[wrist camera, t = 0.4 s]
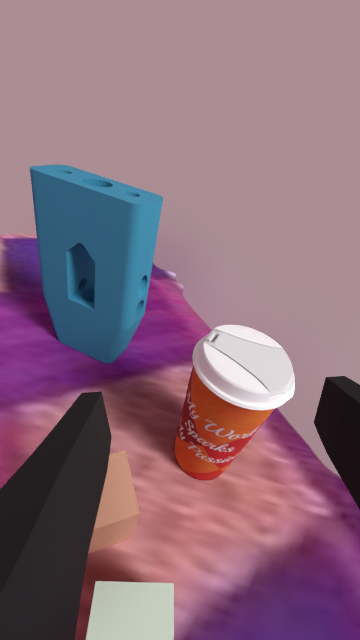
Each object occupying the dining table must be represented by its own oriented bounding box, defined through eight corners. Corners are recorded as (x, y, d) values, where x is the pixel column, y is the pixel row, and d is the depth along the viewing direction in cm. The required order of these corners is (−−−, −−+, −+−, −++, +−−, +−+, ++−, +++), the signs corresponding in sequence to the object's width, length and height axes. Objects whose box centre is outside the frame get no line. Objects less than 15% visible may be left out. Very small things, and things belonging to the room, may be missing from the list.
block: (43, 334, 37) (24, 166, 25) (69, 315, 41) (63, 164, 29) (121, 371, 35) (141, 206, 23) (141, 348, 38) (166, 197, 27)
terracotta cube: (132, 538, 22) (139, 513, 19) (70, 561, 20) (67, 538, 17) (120, 479, 25) (125, 450, 22) (66, 494, 23) (63, 465, 20)
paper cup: (148, 462, 26) (178, 358, 18) (184, 406, 32) (218, 309, 24) (223, 512, 24) (294, 420, 16) (247, 443, 30) (308, 349, 22)
